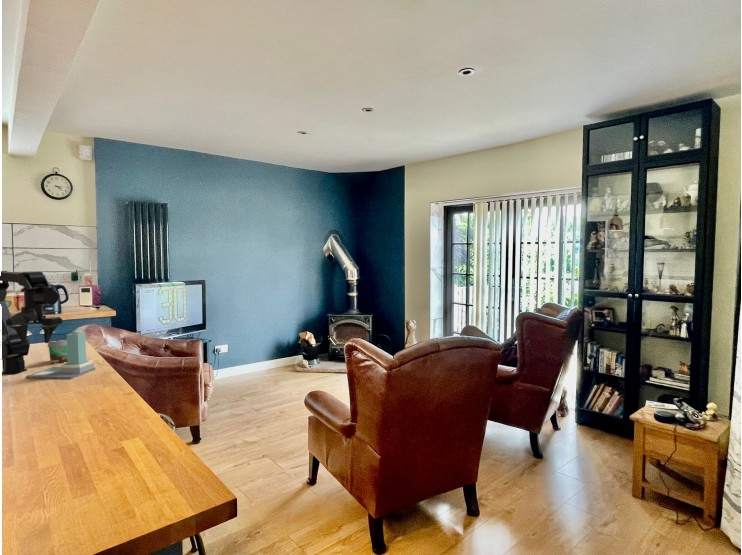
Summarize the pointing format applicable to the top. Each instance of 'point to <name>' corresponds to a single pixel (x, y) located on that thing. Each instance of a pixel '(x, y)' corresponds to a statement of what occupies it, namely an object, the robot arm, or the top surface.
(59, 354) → the food container
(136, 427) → the top surface
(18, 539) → the top surface
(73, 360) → the pillar
